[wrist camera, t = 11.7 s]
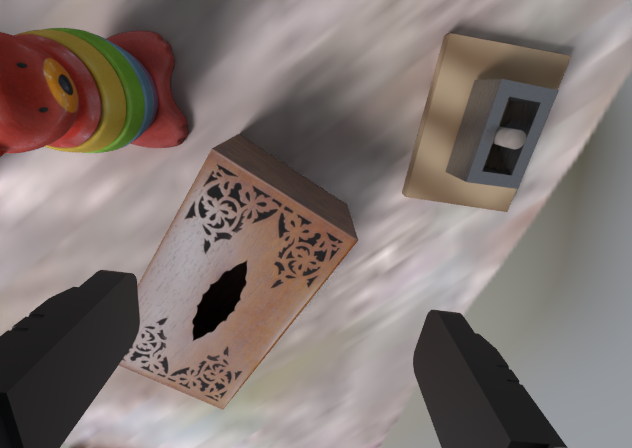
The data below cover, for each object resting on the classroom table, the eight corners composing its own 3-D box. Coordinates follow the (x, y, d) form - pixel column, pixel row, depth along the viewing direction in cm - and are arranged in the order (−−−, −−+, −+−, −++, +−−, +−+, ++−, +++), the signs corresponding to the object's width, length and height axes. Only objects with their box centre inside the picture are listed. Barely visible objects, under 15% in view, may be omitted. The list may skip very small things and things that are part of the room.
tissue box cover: (239, 133, 34) (212, 148, 25) (346, 203, 37) (358, 240, 28) (145, 299, 42) (99, 356, 33) (241, 345, 45) (222, 409, 36)
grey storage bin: (474, 80, 30) (502, 78, 26) (525, 89, 31) (558, 90, 27) (445, 171, 34) (466, 182, 30) (491, 178, 34) (517, 189, 31)
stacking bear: (192, 145, 34) (82, 192, 18) (100, 150, 34) (-94, 202, 18) (169, 30, 30) (-1, -46, 14) (65, 36, 30) (-229, -32, 14)
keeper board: (444, 35, 31) (483, 18, 24) (559, 57, 31) (630, 47, 24) (402, 192, 37) (423, 216, 30) (500, 207, 37) (542, 233, 30)
